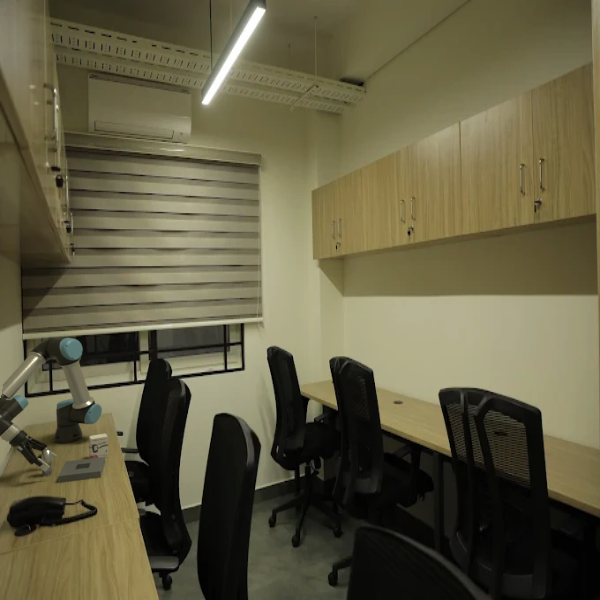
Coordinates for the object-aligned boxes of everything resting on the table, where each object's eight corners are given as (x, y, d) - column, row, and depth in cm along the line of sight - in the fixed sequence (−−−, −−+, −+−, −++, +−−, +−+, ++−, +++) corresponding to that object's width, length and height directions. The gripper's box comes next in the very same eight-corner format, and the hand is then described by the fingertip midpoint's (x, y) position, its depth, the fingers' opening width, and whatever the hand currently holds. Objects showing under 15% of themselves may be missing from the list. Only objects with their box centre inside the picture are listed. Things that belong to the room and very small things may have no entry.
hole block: (66, 467, 219) (66, 461, 219) (105, 462, 225) (105, 456, 224) (58, 482, 202) (58, 476, 202) (100, 477, 207) (100, 471, 207)
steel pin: (43, 473, 212) (42, 449, 211) (52, 472, 213) (52, 448, 212) (41, 477, 208) (40, 452, 207) (50, 476, 209) (50, 451, 209)
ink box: (90, 461, 227) (90, 438, 226) (89, 458, 231) (88, 436, 230) (108, 457, 231) (108, 435, 231) (106, 454, 235) (106, 433, 235)
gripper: (16, 433, 217) (51, 459, 222) (-2, 451, 193) (38, 480, 198) (28, 421, 218) (62, 448, 223) (12, 438, 194) (51, 467, 199)
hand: (51, 463), depth 211 cm, fingers open, 13 cm apart
